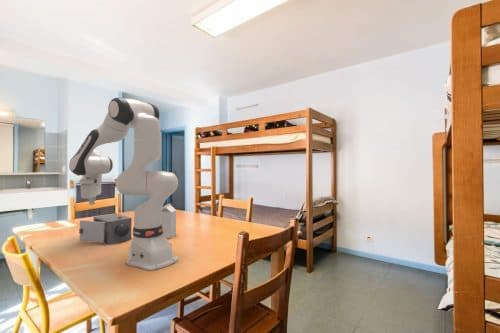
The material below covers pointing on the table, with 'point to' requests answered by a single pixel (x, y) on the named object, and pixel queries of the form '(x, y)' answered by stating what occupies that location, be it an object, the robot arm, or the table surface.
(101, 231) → the door
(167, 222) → the milk carton
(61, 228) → the table surface
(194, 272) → the table surface
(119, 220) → the housing
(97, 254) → the table surface
